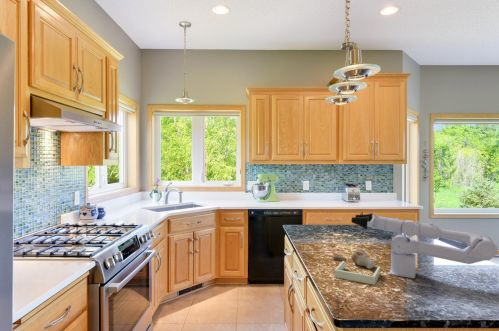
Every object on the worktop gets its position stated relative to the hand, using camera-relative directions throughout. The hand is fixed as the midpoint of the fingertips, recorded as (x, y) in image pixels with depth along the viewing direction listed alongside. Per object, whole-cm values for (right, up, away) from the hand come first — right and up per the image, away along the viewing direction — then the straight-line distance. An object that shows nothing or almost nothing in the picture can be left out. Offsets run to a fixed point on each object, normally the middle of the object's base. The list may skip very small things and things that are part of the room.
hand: (353, 218), depth 136 cm
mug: (+5, -22, 0) cm, 23 cm away
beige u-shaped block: (-2, -22, -12) cm, 25 cm away
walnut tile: (-4, -22, +10) cm, 25 cm away
